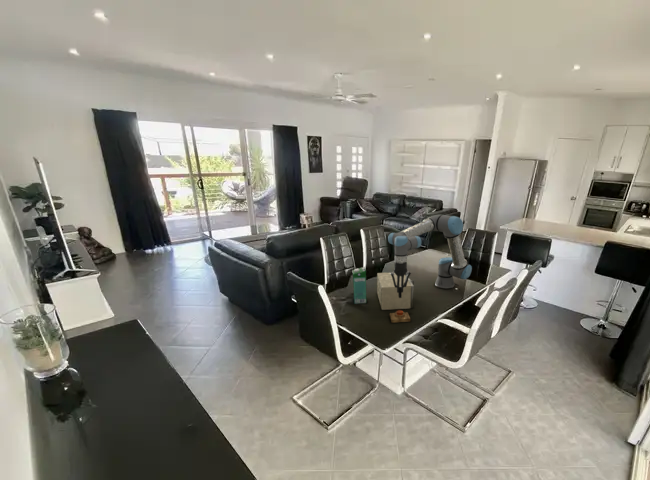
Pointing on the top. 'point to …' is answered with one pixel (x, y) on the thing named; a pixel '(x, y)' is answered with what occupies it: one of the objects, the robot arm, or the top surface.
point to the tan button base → (399, 317)
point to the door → (411, 291)
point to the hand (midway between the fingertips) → (399, 297)
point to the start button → (399, 312)
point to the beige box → (392, 292)
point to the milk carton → (359, 285)
